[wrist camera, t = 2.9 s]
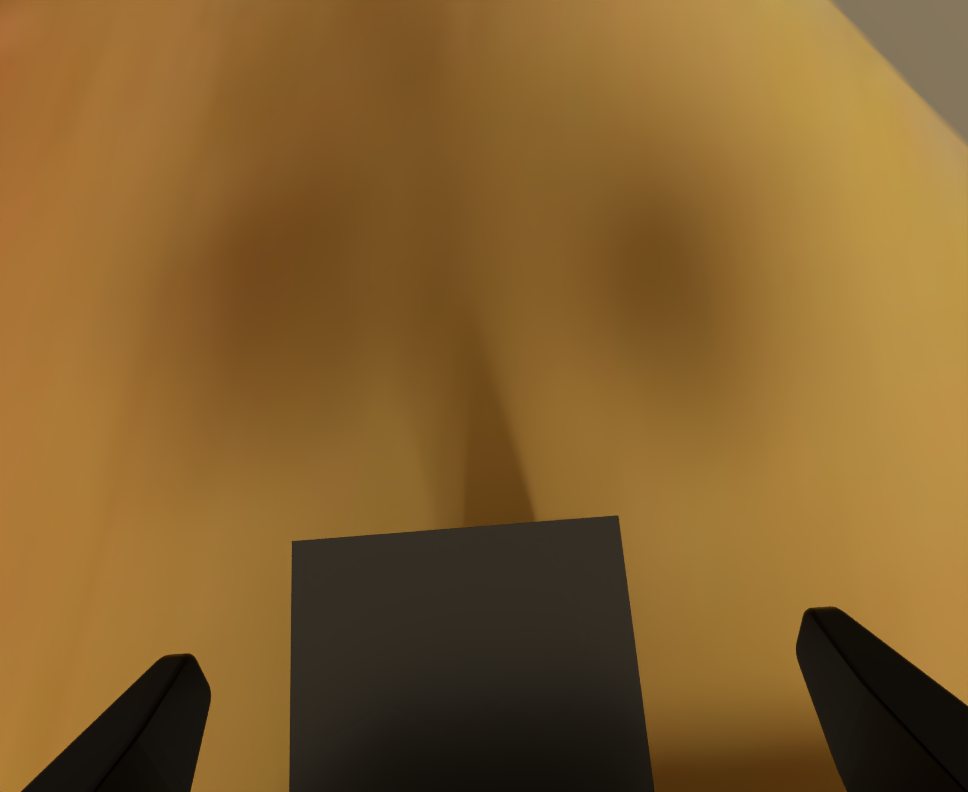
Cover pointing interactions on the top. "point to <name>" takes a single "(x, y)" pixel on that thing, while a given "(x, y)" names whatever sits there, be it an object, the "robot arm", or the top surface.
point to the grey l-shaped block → (466, 662)
